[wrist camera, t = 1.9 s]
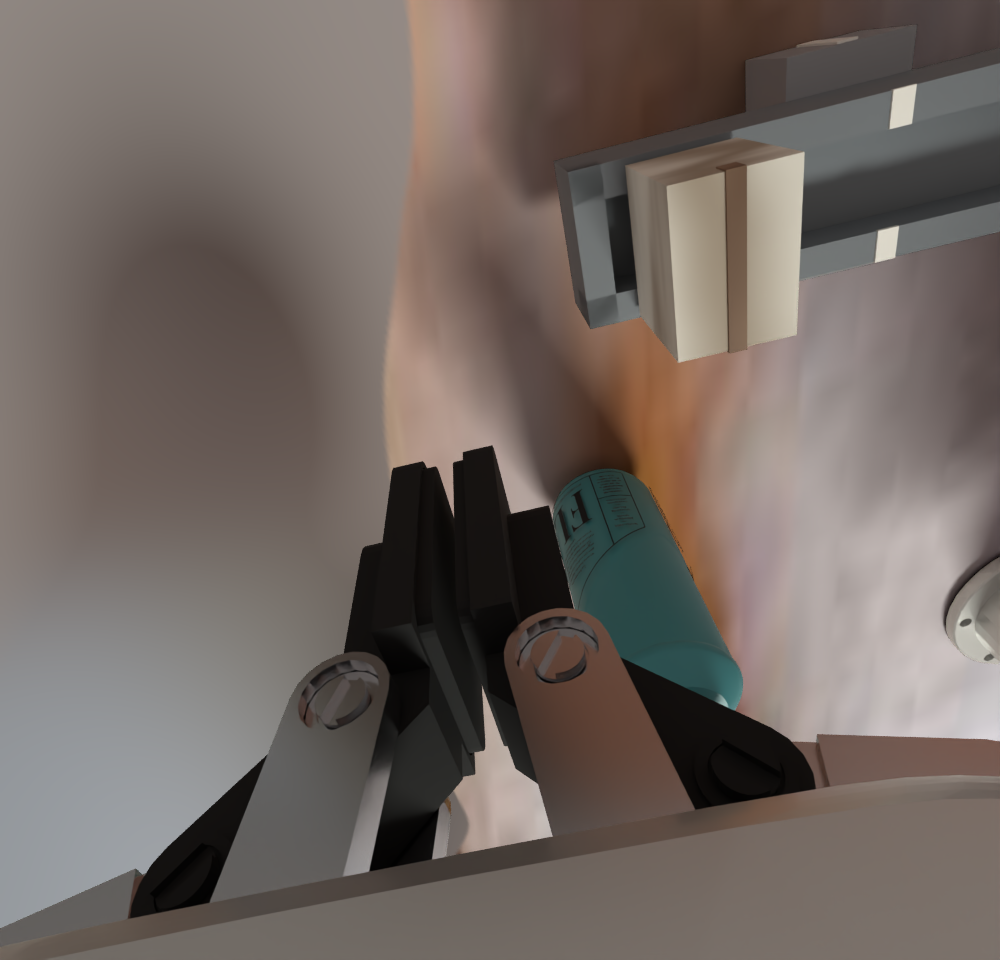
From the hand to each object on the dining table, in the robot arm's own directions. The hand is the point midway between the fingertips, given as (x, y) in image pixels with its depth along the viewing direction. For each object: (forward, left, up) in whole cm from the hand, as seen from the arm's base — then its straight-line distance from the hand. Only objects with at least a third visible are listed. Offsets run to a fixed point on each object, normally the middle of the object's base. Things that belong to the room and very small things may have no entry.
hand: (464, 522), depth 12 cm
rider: (-9, 0, -17) cm, 19 cm away
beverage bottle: (-5, +17, -23) cm, 29 cm away
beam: (-17, 0, -23) cm, 29 cm away
